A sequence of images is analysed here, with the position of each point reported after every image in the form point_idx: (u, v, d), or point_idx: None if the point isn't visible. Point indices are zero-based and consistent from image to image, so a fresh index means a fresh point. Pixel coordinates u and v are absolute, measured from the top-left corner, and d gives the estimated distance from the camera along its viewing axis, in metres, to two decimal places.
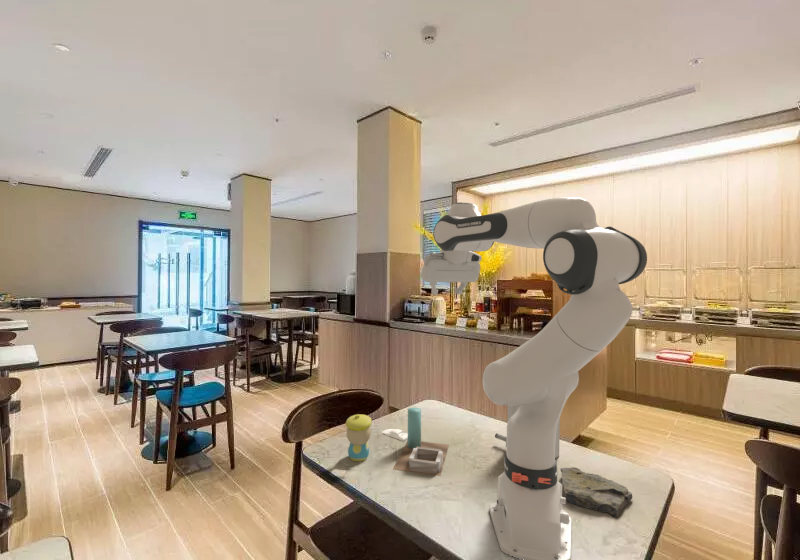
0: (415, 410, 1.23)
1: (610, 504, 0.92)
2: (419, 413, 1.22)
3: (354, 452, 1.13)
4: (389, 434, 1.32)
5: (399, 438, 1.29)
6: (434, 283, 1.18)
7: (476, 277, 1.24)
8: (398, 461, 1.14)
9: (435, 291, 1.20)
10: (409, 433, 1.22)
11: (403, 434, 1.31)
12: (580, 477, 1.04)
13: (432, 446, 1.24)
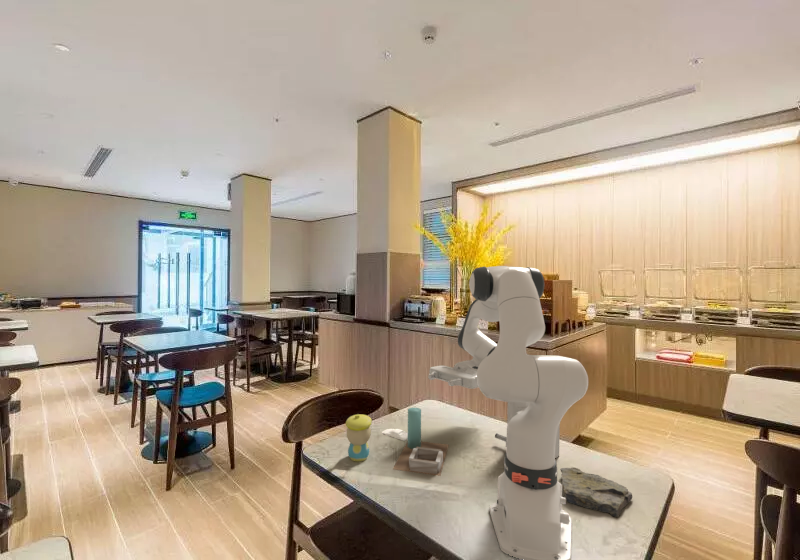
0: (415, 410, 1.23)
1: (610, 504, 0.92)
2: (419, 413, 1.22)
3: (354, 452, 1.13)
4: (389, 434, 1.32)
5: (400, 438, 1.29)
6: (434, 371, 1.39)
7: (471, 377, 1.29)
8: (398, 461, 1.14)
9: (431, 374, 1.36)
10: (409, 433, 1.22)
11: (403, 434, 1.31)
12: (580, 477, 1.04)
13: (432, 446, 1.24)
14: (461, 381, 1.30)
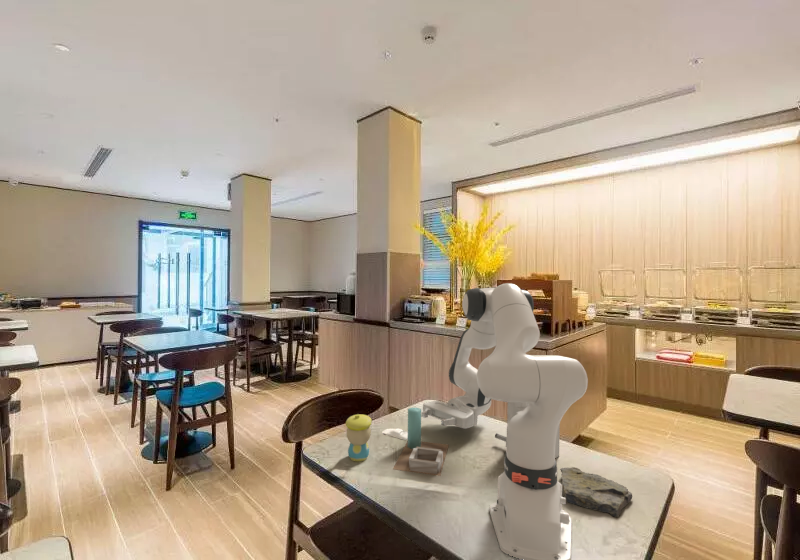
0: (415, 410, 1.23)
1: (610, 504, 0.92)
2: (419, 413, 1.22)
3: (354, 452, 1.13)
4: (390, 434, 1.32)
5: (401, 437, 1.29)
6: (428, 408, 1.37)
7: (465, 416, 1.27)
8: (398, 461, 1.14)
9: (424, 411, 1.34)
10: (409, 433, 1.22)
11: (404, 433, 1.32)
12: (580, 477, 1.04)
13: (432, 446, 1.24)
14: (454, 420, 1.27)
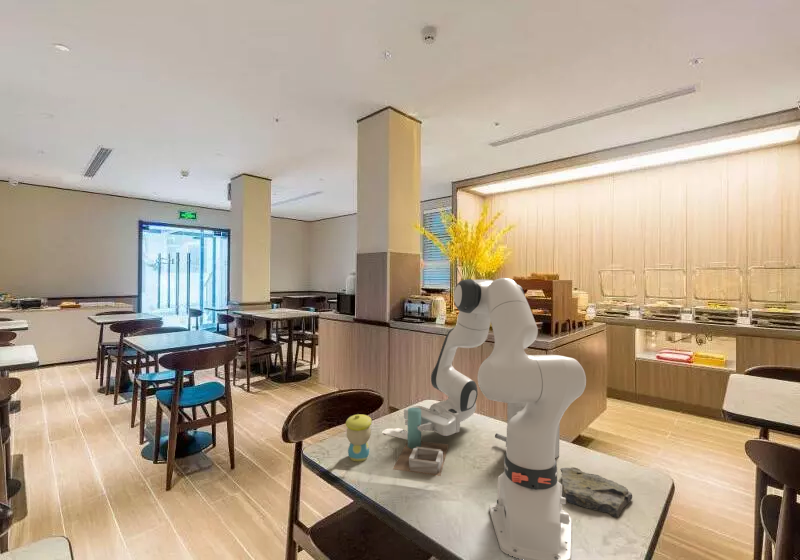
0: (415, 410, 1.23)
1: (610, 504, 0.92)
2: (419, 413, 1.22)
3: (354, 452, 1.13)
4: (390, 434, 1.32)
5: (402, 437, 1.30)
6: None
7: (446, 423, 1.21)
8: (398, 461, 1.14)
9: None
10: (409, 433, 1.22)
11: (405, 432, 1.32)
12: (580, 477, 1.04)
13: (432, 446, 1.24)
14: (431, 426, 1.22)
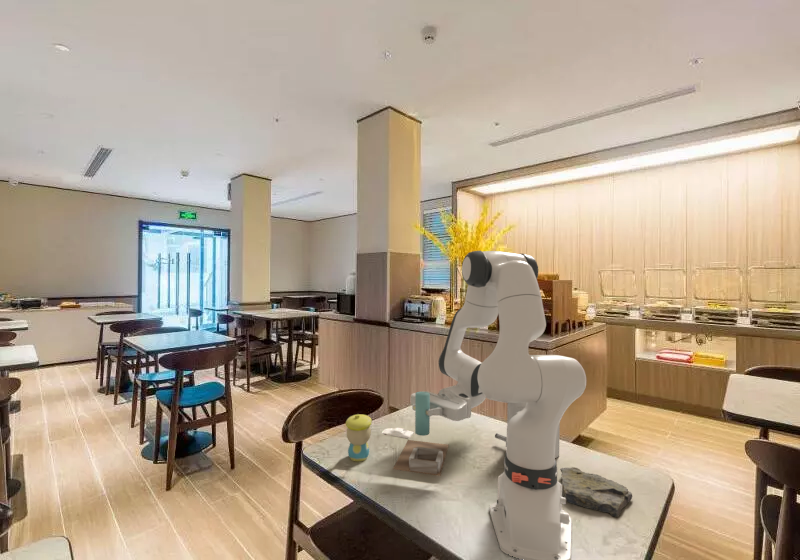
0: (423, 393, 1.15)
1: (610, 504, 0.92)
2: (428, 397, 1.14)
3: (354, 452, 1.13)
4: (391, 433, 1.32)
5: (403, 436, 1.30)
6: None
7: (457, 407, 1.12)
8: (398, 461, 1.14)
9: None
10: (417, 419, 1.14)
11: (405, 432, 1.33)
12: (580, 477, 1.04)
13: (432, 446, 1.24)
14: (440, 410, 1.14)
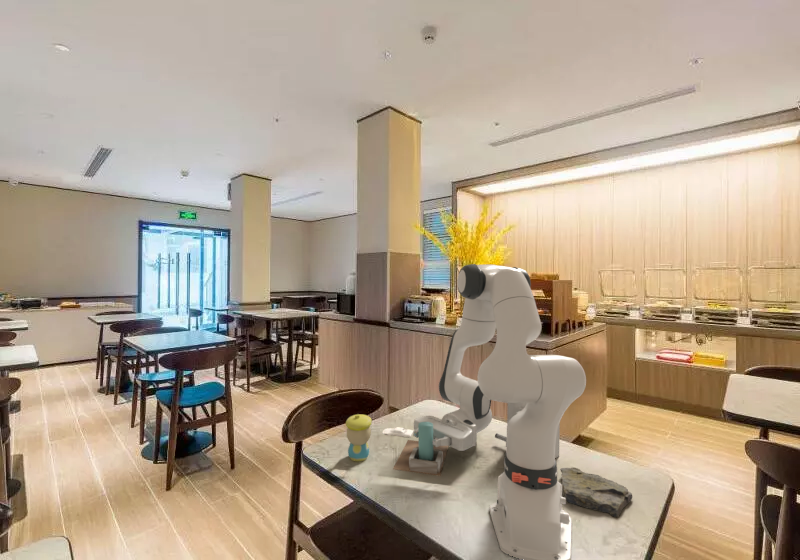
0: (426, 424, 1.11)
1: (610, 504, 0.92)
2: (431, 428, 1.10)
3: (354, 452, 1.13)
4: (392, 433, 1.33)
5: (405, 435, 1.31)
6: None
7: (462, 436, 1.09)
8: (398, 461, 1.14)
9: (417, 430, 1.15)
10: (421, 451, 1.10)
11: (406, 431, 1.34)
12: (580, 477, 1.04)
13: None
14: (448, 440, 1.09)
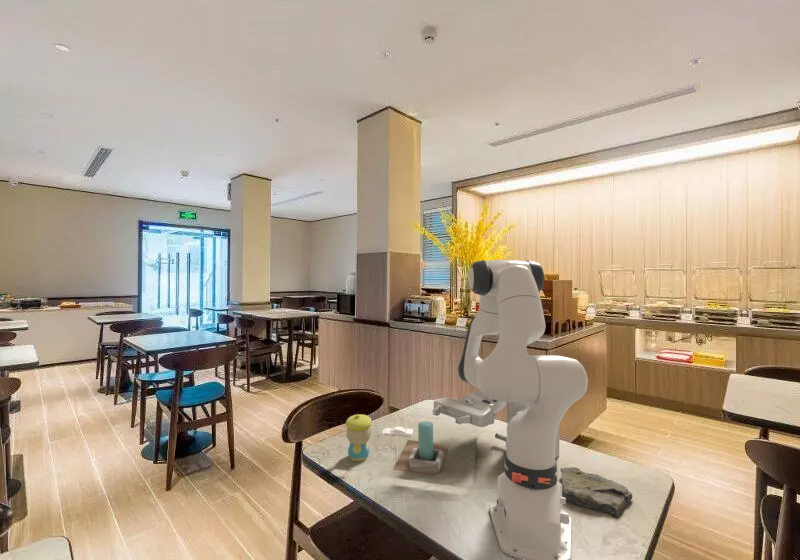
0: (426, 424, 1.11)
1: (610, 504, 0.92)
2: (431, 428, 1.10)
3: (354, 452, 1.13)
4: (392, 433, 1.33)
5: (406, 434, 1.32)
6: (439, 405, 1.24)
7: (481, 413, 1.14)
8: (398, 461, 1.14)
9: (436, 408, 1.22)
10: (421, 451, 1.10)
11: (406, 430, 1.34)
12: (580, 477, 1.04)
13: None
14: (470, 418, 1.15)
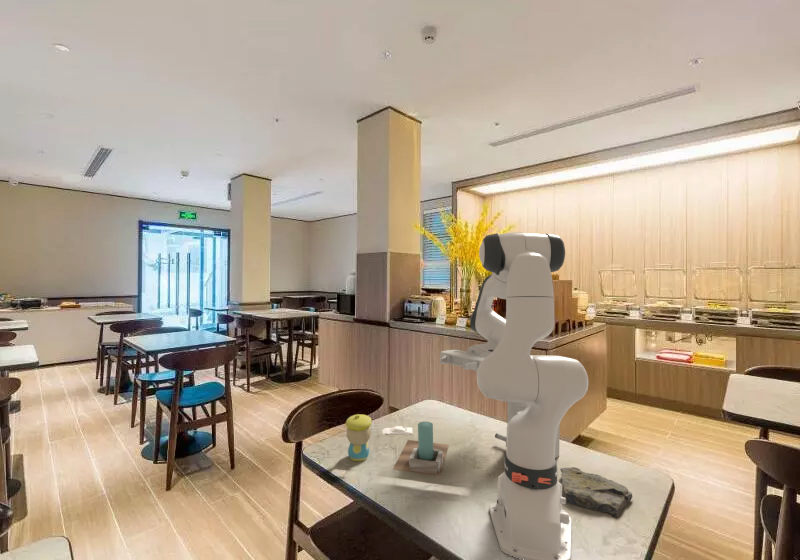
0: (425, 424, 1.11)
1: (610, 504, 0.92)
2: (430, 428, 1.10)
3: (354, 452, 1.13)
4: (393, 433, 1.33)
5: (407, 433, 1.33)
6: (446, 355, 1.26)
7: None
8: (398, 461, 1.14)
9: (443, 357, 1.23)
10: (420, 451, 1.10)
11: (406, 429, 1.35)
12: (580, 477, 1.04)
13: None
14: (477, 365, 1.17)
